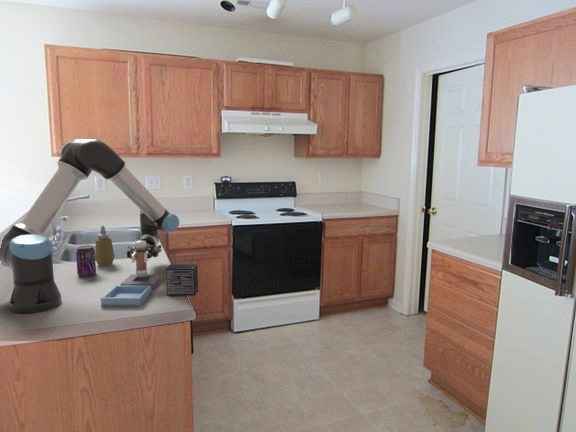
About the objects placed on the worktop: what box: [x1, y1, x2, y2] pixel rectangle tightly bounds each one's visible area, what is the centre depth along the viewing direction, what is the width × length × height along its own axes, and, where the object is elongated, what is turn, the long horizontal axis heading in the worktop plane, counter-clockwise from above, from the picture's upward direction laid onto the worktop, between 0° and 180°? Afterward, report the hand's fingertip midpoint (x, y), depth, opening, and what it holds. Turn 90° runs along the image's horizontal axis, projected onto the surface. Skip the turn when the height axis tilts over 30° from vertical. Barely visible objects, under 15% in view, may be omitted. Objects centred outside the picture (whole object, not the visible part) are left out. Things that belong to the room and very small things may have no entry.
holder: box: [119, 273, 162, 291], centre depth 165 cm, size 12×12×2 cm
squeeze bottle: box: [94, 225, 115, 268], centre depth 190 cm, size 8×8×18 cm
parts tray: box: [100, 285, 152, 308], centre depth 149 cm, size 13×13×3 cm
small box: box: [165, 263, 199, 297], centre depth 156 cm, size 11×6×10 cm, turn 92°
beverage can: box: [75, 244, 97, 277], centre depth 177 cm, size 7×7×12 cm
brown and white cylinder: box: [134, 240, 148, 276], centre depth 164 cm, size 4×4×13 cm
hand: (139, 259), depth 158 cm, fingers closed on brown and white cylinder, 4 cm apart
